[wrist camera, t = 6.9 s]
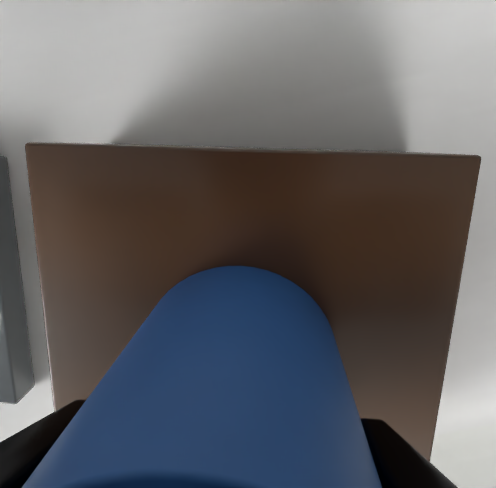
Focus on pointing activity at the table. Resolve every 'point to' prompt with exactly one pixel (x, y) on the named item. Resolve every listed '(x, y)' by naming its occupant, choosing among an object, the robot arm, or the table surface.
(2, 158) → the slate tile
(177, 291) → the blue bottle
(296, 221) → the walnut block
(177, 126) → the table surface
